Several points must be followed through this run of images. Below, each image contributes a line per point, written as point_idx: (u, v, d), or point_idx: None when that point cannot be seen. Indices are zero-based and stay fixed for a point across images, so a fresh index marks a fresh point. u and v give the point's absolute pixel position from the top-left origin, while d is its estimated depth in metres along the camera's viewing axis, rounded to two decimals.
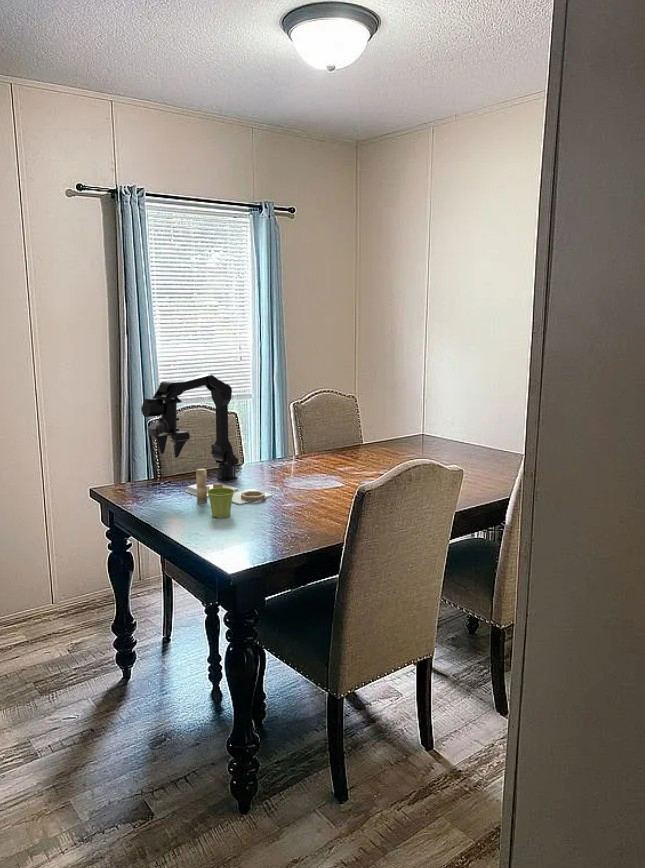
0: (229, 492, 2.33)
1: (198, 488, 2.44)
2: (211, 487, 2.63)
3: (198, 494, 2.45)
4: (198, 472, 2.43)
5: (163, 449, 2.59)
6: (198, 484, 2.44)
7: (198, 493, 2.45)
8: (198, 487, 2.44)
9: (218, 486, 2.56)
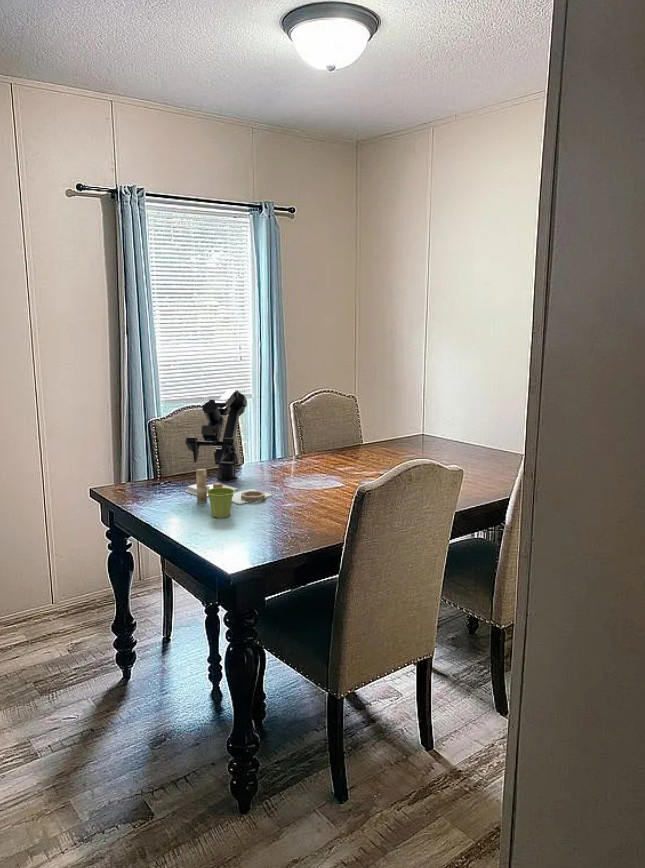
0: (229, 492, 2.33)
1: (198, 488, 2.44)
2: (211, 487, 2.63)
3: (198, 494, 2.45)
4: (198, 472, 2.43)
5: (196, 459, 2.53)
6: (198, 484, 2.44)
7: (198, 493, 2.45)
8: (198, 487, 2.44)
9: (218, 486, 2.56)
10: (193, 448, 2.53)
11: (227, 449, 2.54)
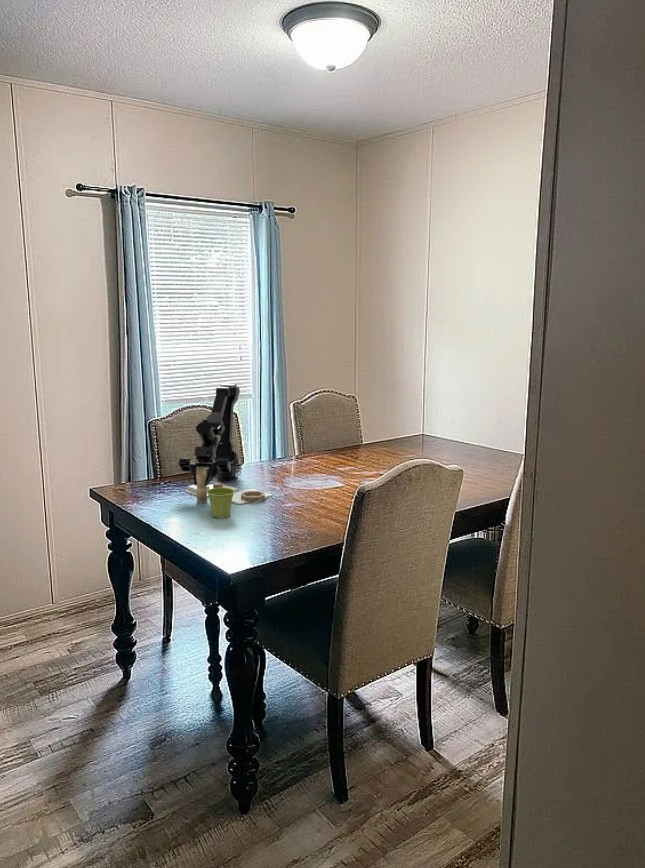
0: (229, 492, 2.33)
1: (198, 488, 2.44)
2: (211, 487, 2.63)
3: (198, 494, 2.45)
4: (198, 472, 2.43)
5: (196, 482, 2.45)
6: (198, 484, 2.44)
7: (198, 493, 2.45)
8: (198, 487, 2.44)
9: (218, 486, 2.56)
10: (193, 470, 2.46)
11: (214, 470, 2.47)
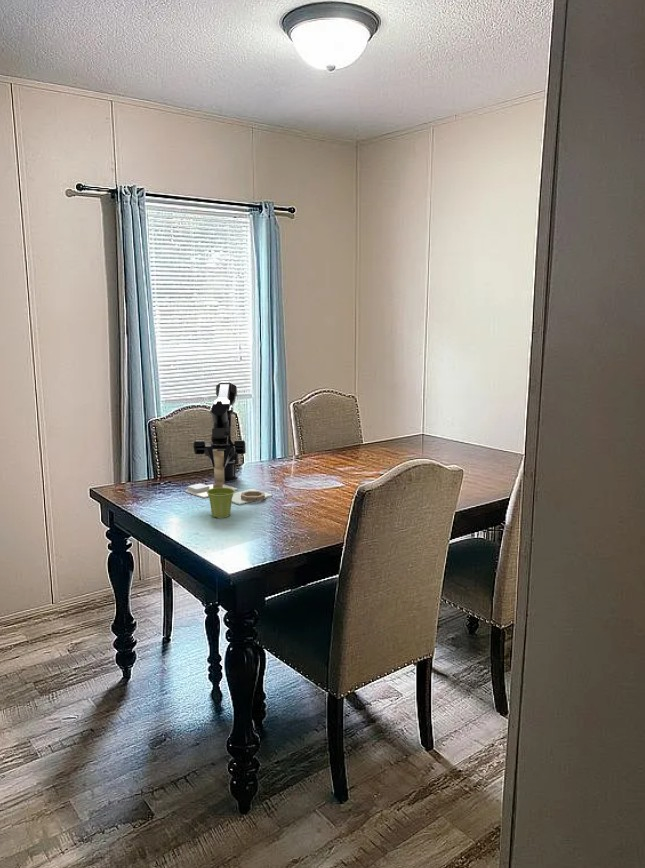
0: (229, 492, 2.33)
1: (216, 470, 2.42)
2: (211, 487, 2.63)
3: (216, 476, 2.43)
4: (216, 454, 2.41)
5: None
6: (216, 466, 2.42)
7: (216, 475, 2.43)
8: (216, 469, 2.42)
9: (218, 486, 2.56)
10: (210, 452, 2.44)
11: (230, 452, 2.47)
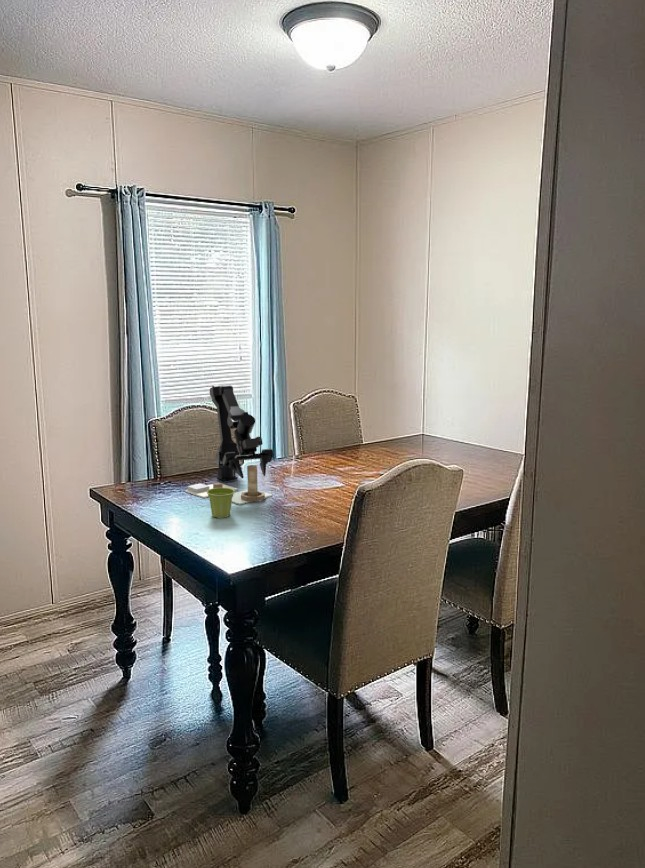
0: (229, 492, 2.33)
1: (252, 484, 2.47)
2: (211, 487, 2.63)
3: (252, 490, 2.47)
4: (252, 468, 2.46)
5: None
6: (252, 480, 2.47)
7: (252, 489, 2.47)
8: (252, 483, 2.47)
9: (218, 486, 2.56)
10: (237, 463, 2.46)
11: None
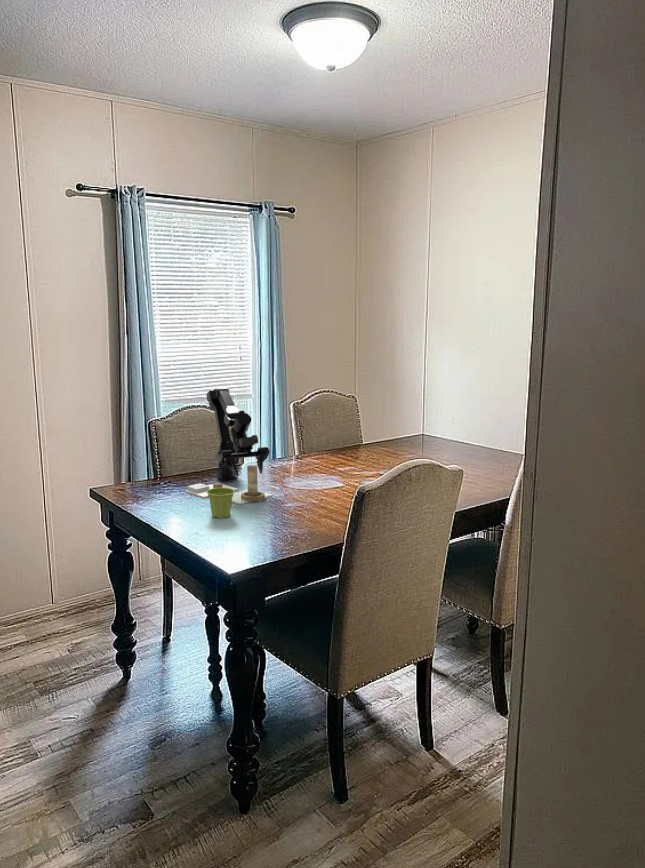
0: (229, 492, 2.33)
1: (252, 485, 2.47)
2: (211, 487, 2.63)
3: (252, 491, 2.47)
4: (252, 469, 2.46)
5: None
6: (252, 481, 2.46)
7: (252, 490, 2.47)
8: (252, 484, 2.47)
9: (218, 486, 2.56)
10: (232, 462, 2.50)
11: None
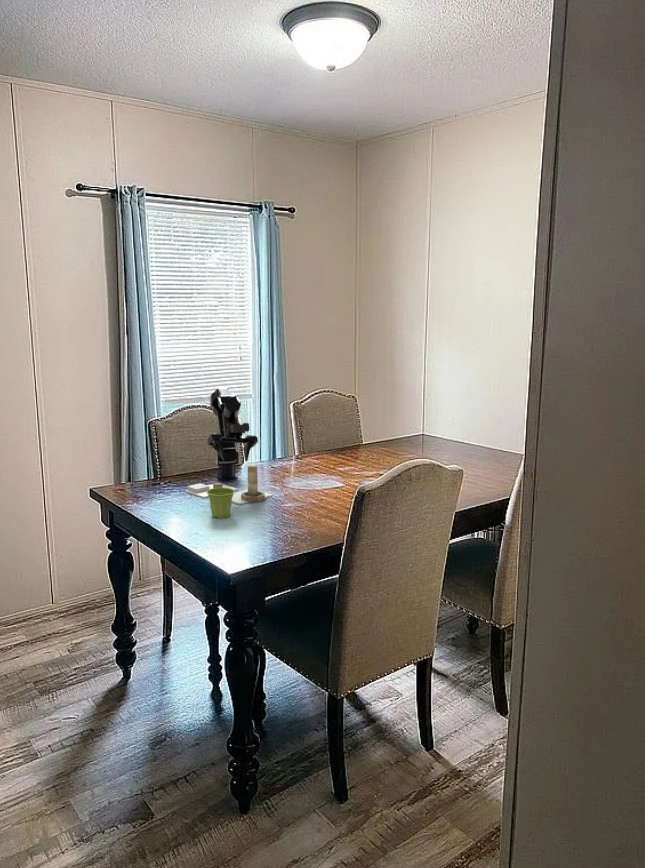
0: (229, 492, 2.33)
1: (252, 485, 2.47)
2: (211, 487, 2.63)
3: (252, 491, 2.47)
4: (252, 469, 2.46)
5: None
6: (252, 481, 2.46)
7: (252, 490, 2.47)
8: (252, 484, 2.47)
9: (218, 486, 2.56)
10: (220, 445, 2.53)
11: None
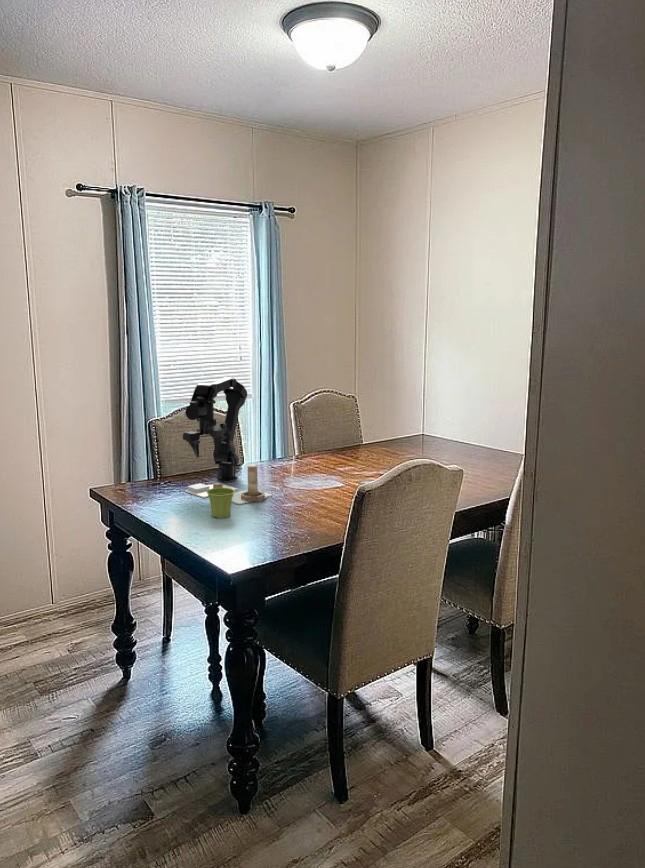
0: (229, 492, 2.33)
1: (252, 485, 2.47)
2: (211, 487, 2.63)
3: (252, 491, 2.47)
4: (252, 469, 2.46)
5: None
6: (252, 481, 2.46)
7: (252, 490, 2.47)
8: (252, 484, 2.47)
9: (218, 486, 2.56)
10: (196, 445, 2.57)
11: None
